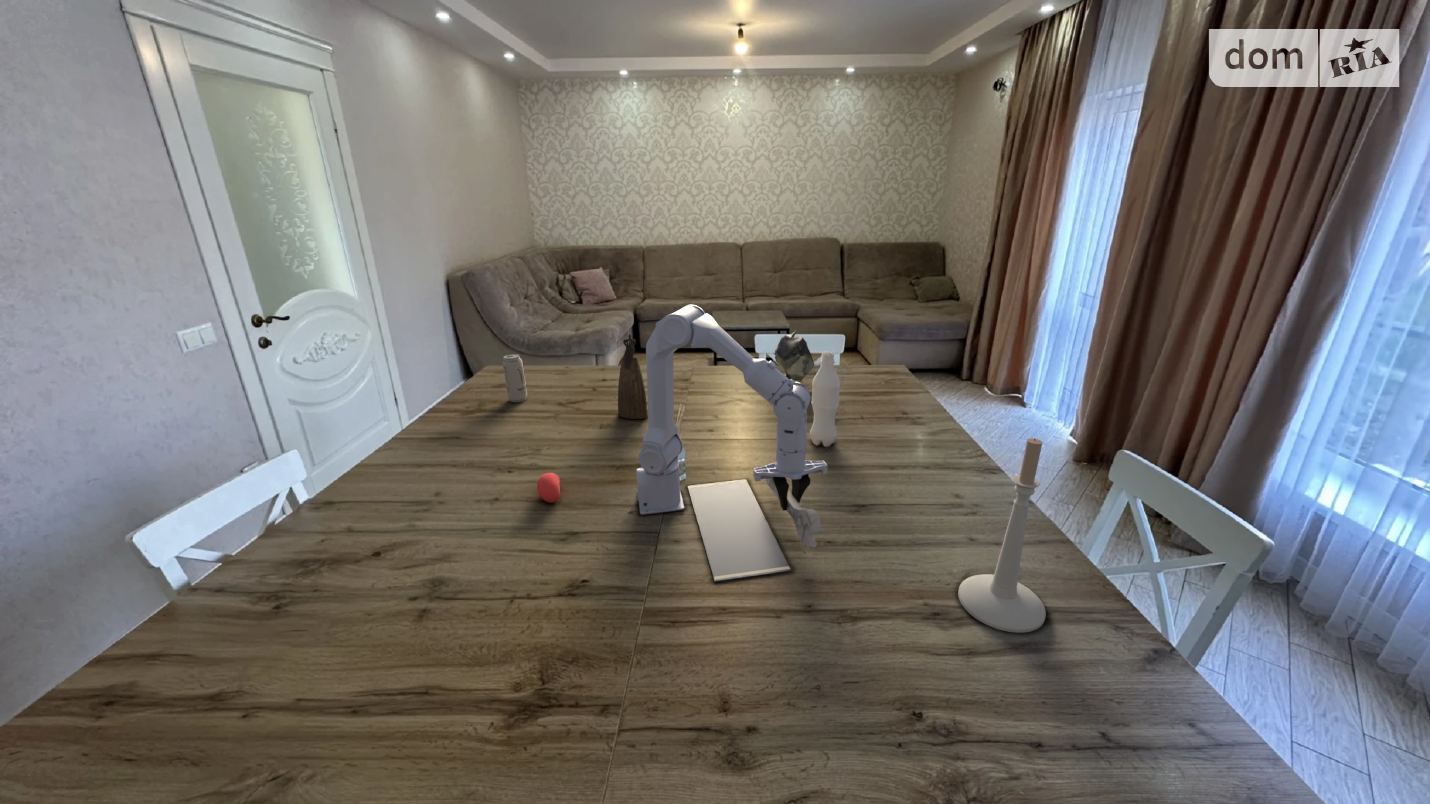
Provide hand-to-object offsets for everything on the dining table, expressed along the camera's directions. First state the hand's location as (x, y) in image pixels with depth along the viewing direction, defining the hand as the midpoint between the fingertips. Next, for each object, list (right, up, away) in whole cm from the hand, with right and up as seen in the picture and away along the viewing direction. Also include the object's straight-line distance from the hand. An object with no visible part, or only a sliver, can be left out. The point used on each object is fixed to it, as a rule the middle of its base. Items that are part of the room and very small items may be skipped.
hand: (789, 507), depth 111 cm
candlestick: (+32, -12, -20) cm, 40 cm away
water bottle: (+14, +10, +37) cm, 41 cm away
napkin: (-11, -4, +2) cm, 12 cm away
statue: (-40, +17, +57) cm, 72 cm away
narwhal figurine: (+12, +27, +81) cm, 87 cm away
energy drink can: (-80, +22, +72) cm, 110 cm away
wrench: (0, -2, +1) cm, 2 cm away
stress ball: (-52, 0, +14) cm, 54 cm away
